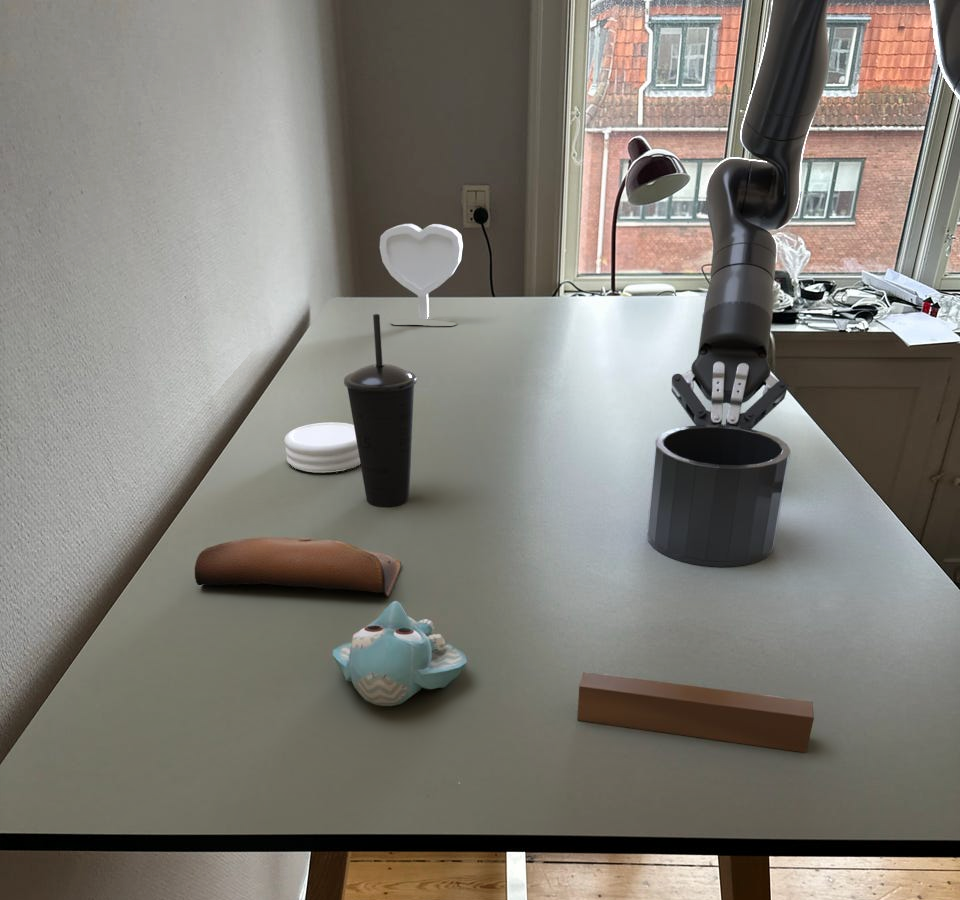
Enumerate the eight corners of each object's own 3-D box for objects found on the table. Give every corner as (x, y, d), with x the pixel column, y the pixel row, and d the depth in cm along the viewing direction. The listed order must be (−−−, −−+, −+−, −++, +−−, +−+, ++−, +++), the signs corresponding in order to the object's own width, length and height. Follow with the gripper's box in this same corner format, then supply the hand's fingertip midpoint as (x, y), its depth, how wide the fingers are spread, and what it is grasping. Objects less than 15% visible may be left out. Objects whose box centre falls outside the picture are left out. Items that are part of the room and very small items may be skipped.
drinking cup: (376, 482, 108) (364, 304, 98) (433, 492, 105) (427, 310, 95) (340, 504, 102) (323, 318, 92) (399, 516, 99) (389, 325, 89)
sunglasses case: (405, 556, 89) (394, 516, 83) (394, 619, 86) (382, 581, 80) (227, 548, 91) (205, 508, 86) (210, 609, 88) (186, 571, 82)
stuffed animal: (482, 581, 74) (451, 629, 63) (480, 664, 77) (449, 724, 65) (354, 571, 76) (302, 616, 65) (356, 652, 78) (306, 709, 67)
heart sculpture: (383, 325, 181) (377, 226, 172) (389, 320, 186) (383, 223, 176) (460, 327, 179) (458, 227, 170) (464, 321, 183) (463, 223, 174)
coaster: (327, 481, 109) (324, 452, 107) (270, 463, 114) (266, 436, 112) (384, 457, 115) (382, 430, 114) (328, 442, 121) (325, 416, 119)
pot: (740, 511, 100) (753, 421, 95) (796, 560, 89) (814, 462, 84) (630, 520, 98) (637, 429, 93) (673, 572, 87) (685, 472, 82)
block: (581, 705, 69) (583, 671, 67) (805, 736, 65) (812, 701, 63) (577, 720, 67) (579, 686, 65) (806, 753, 63) (814, 717, 62)
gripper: (677, 296, 101) (657, 439, 97) (803, 301, 98) (787, 449, 94) (676, 335, 108) (657, 470, 104) (793, 340, 105) (778, 480, 101)
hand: (719, 460), depth 99 cm, fingers closed
